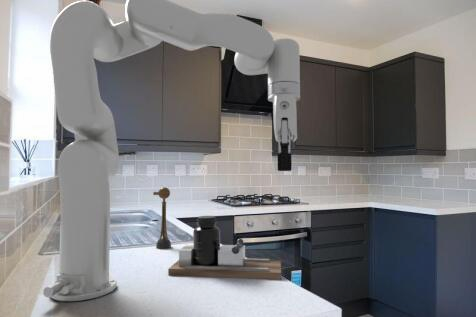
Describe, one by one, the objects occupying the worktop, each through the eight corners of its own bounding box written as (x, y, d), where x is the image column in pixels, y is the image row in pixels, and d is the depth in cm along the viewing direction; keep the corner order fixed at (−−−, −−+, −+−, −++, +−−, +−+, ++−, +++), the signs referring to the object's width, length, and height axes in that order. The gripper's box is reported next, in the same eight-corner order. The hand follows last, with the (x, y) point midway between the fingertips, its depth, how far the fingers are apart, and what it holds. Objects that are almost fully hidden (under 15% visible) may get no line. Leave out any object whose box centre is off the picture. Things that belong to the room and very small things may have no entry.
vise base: (281, 279, 74) (280, 255, 74) (168, 275, 77) (168, 252, 78) (280, 267, 84) (280, 245, 84) (180, 263, 87) (180, 243, 88)
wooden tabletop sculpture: (151, 249, 104) (152, 187, 105) (154, 246, 109) (154, 187, 110) (170, 248, 105) (170, 187, 106) (171, 245, 109) (172, 186, 110)
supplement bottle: (208, 259, 86) (209, 214, 87) (225, 264, 81) (225, 216, 82) (187, 264, 81) (188, 216, 82) (204, 270, 76) (204, 219, 77)
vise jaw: (241, 270, 75) (241, 247, 75) (216, 269, 76) (216, 246, 76) (246, 258, 86) (246, 238, 86) (223, 257, 86) (223, 237, 87)
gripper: (302, 84, 68) (303, 170, 67) (297, 100, 83) (298, 171, 82) (266, 85, 69) (267, 170, 68) (268, 101, 84) (269, 171, 83)
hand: (284, 170), depth 75 cm, fingers closed
